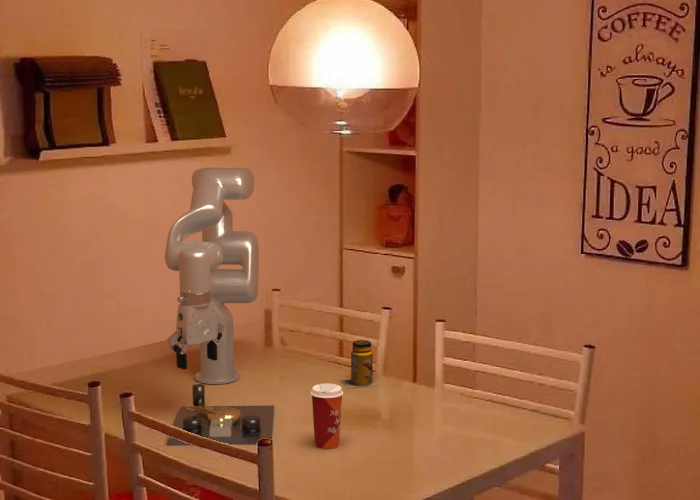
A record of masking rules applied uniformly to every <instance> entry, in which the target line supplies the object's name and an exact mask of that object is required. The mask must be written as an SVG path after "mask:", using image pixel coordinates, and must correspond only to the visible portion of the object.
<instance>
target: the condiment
mask: <svg viewBox="0 0 700 500" xmlns="http://www.w3.org/2000/svg"><path fill="white" fill-rule="evenodd" d="M373 356H374V354H373V350H372V342H371V341H370V340H365V339H361V340H360V339H359V340H354V341H353V342H352V350H351V352H350V379H341V380H340V382H341V383H342V384H343V385H344V386H345V387H346V388H348V389H351V388H353V389H354V388H362V387H363V388H366V387H374V386H377V385H378V384H376V383H375V382H374V381H373V374H374V373H373V360H374V359H373V358H374V357H373Z"/></svg>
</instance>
